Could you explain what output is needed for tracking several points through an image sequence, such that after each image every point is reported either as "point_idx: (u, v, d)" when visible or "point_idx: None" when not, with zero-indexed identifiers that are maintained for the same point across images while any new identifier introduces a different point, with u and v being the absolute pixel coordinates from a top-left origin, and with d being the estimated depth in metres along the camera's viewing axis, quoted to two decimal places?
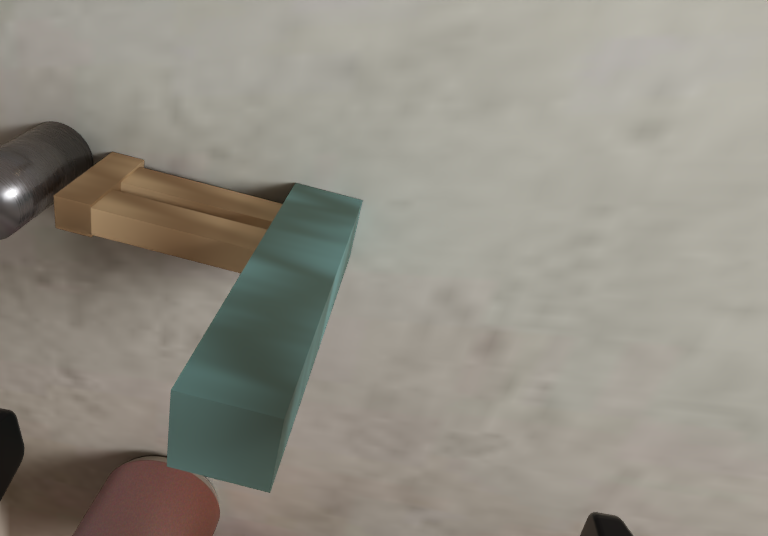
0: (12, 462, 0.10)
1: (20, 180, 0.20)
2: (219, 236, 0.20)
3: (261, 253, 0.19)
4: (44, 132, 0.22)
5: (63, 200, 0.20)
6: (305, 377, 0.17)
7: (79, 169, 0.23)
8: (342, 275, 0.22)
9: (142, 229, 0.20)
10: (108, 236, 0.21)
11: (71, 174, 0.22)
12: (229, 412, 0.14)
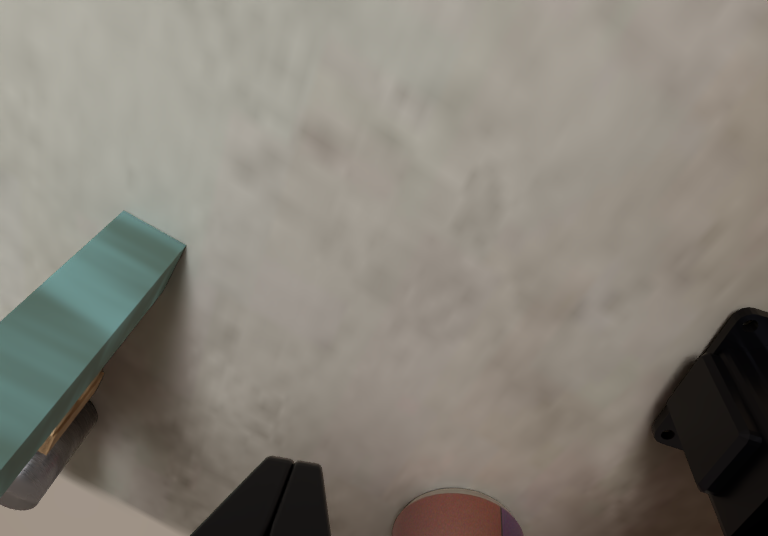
0: None
1: None
2: None
3: None
4: None
5: None
6: (30, 372, 0.16)
7: None
8: (154, 265, 0.22)
9: None
10: (57, 426, 0.24)
11: None
12: None
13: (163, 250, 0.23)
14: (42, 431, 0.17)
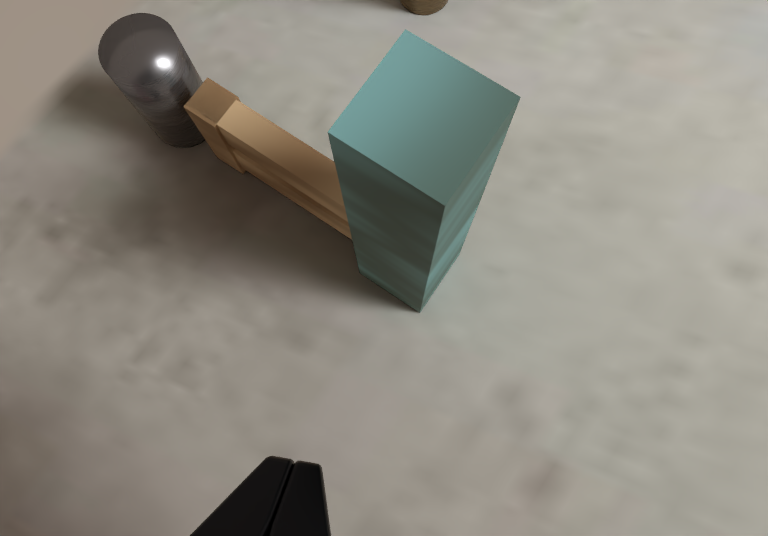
0: None
1: (185, 56, 0.20)
2: None
3: None
4: None
5: (212, 86, 0.20)
6: (458, 215, 0.14)
7: None
8: (429, 292, 0.20)
9: (274, 135, 0.19)
10: (230, 134, 0.19)
11: None
12: (457, 73, 0.12)
13: (429, 295, 0.21)
14: (390, 214, 0.14)
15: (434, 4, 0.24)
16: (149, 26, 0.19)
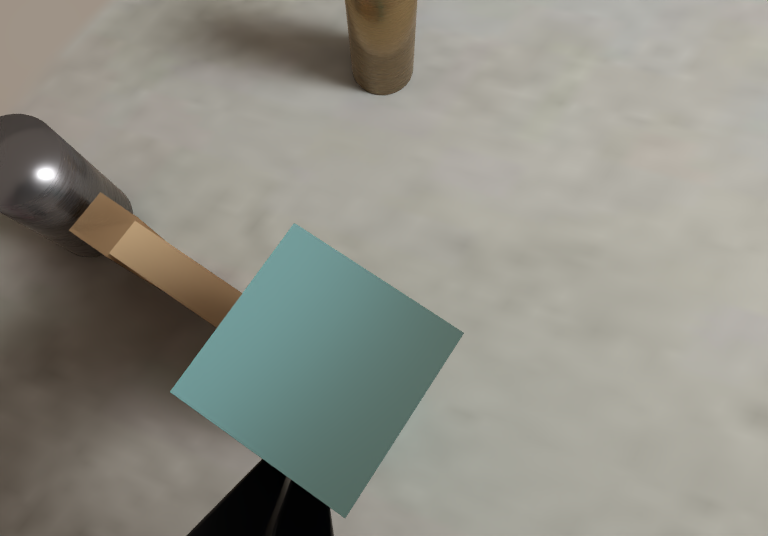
0: None
1: (73, 164, 0.16)
2: None
3: None
4: None
5: (106, 203, 0.16)
6: None
7: None
8: None
9: (180, 267, 0.15)
10: (127, 265, 0.15)
11: None
12: (370, 294, 0.08)
13: None
14: None
15: (393, 84, 0.20)
16: (25, 131, 0.15)
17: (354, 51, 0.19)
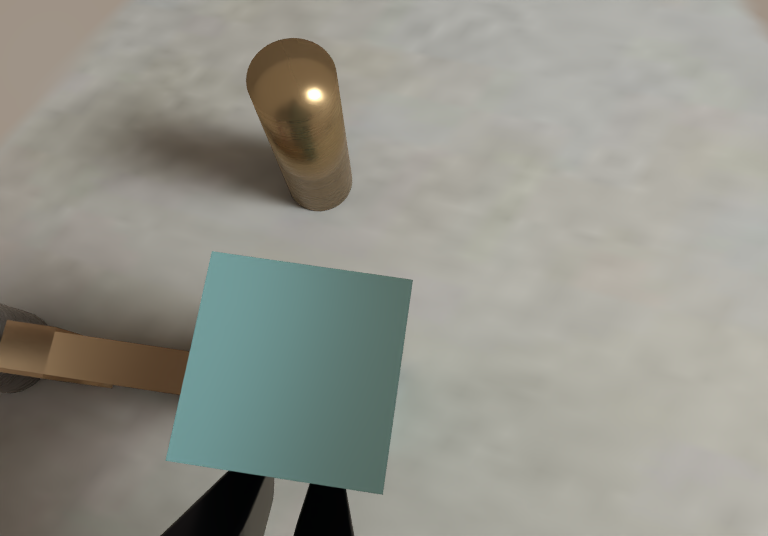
0: (268, 508, 0.10)
1: None
2: None
3: None
4: (21, 313, 0.18)
5: (18, 327, 0.15)
6: None
7: None
8: None
9: (121, 354, 0.15)
10: (67, 377, 0.15)
11: None
12: (312, 284, 0.08)
13: None
14: None
15: (329, 203, 0.19)
16: None
17: (284, 176, 0.18)
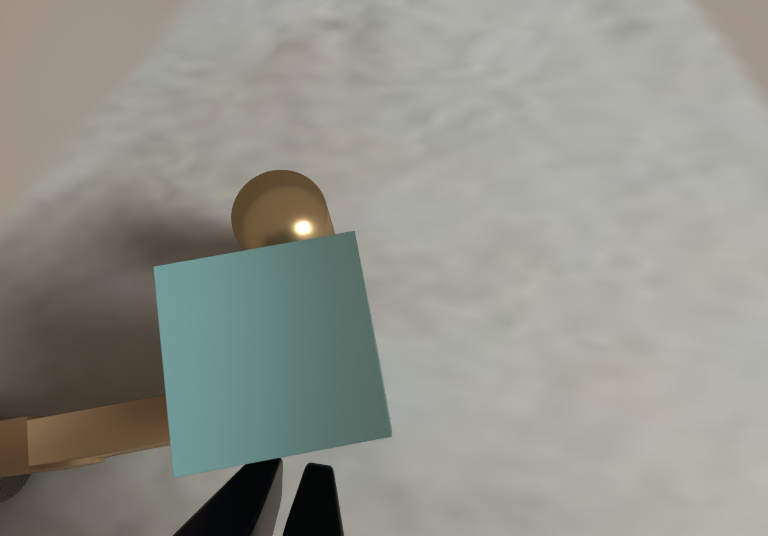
0: (276, 509, 0.10)
1: None
2: None
3: None
4: None
5: None
6: (380, 372, 0.10)
7: (4, 487, 0.17)
8: None
9: (101, 420, 0.14)
10: (54, 461, 0.14)
11: None
12: (262, 266, 0.08)
13: None
14: None
15: None
16: None
17: None
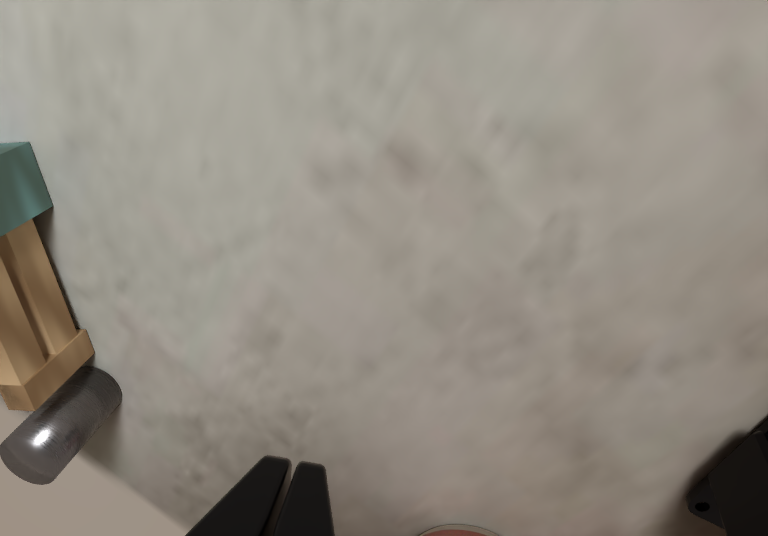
0: None
1: (30, 424, 0.25)
2: None
3: None
4: None
5: (9, 402, 0.24)
6: None
7: (93, 385, 0.27)
8: None
9: None
10: (18, 372, 0.23)
11: (85, 393, 0.27)
12: None
13: None
14: None
15: None
16: (9, 452, 0.24)
17: None
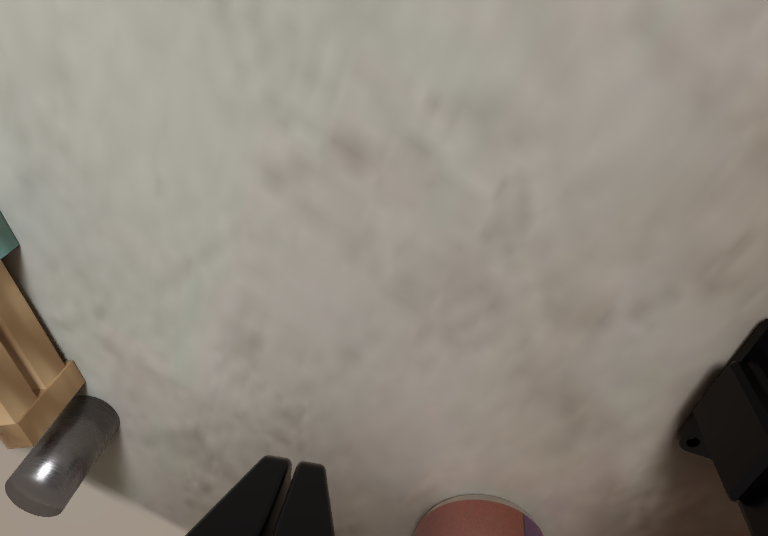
0: None
1: (31, 460, 0.25)
2: None
3: None
4: (57, 418, 0.28)
5: (7, 442, 0.25)
6: None
7: (89, 413, 0.27)
8: None
9: None
10: (10, 411, 0.24)
11: (82, 422, 0.27)
12: None
13: None
14: None
15: None
16: (15, 490, 0.25)
17: None
